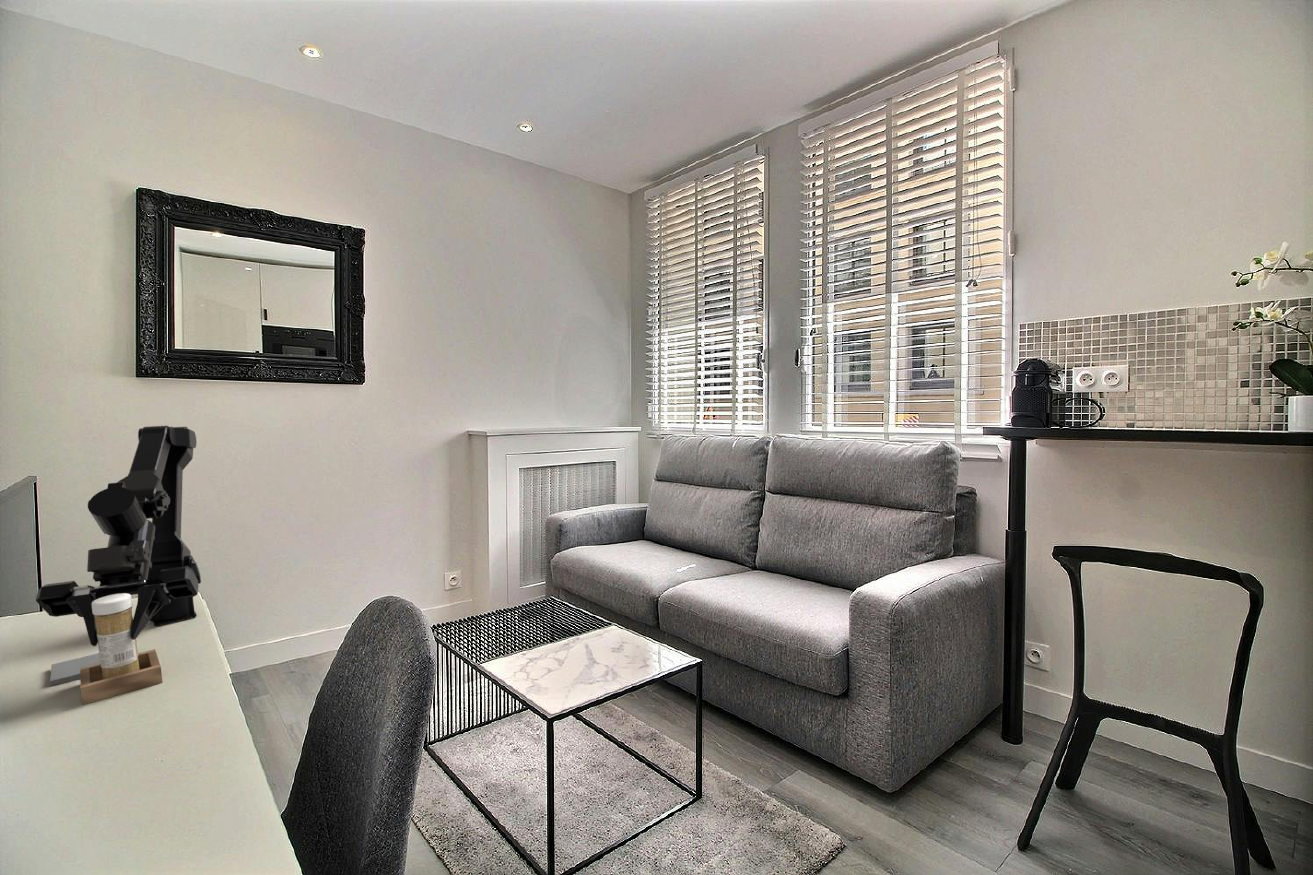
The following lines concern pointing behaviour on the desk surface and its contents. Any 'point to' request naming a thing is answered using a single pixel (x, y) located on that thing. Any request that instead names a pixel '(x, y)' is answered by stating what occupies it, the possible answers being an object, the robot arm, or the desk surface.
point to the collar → (119, 679)
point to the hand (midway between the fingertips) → (113, 641)
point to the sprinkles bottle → (115, 635)
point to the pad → (71, 669)
